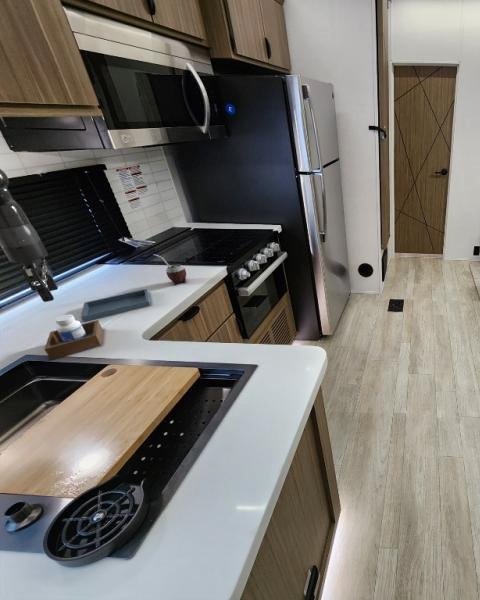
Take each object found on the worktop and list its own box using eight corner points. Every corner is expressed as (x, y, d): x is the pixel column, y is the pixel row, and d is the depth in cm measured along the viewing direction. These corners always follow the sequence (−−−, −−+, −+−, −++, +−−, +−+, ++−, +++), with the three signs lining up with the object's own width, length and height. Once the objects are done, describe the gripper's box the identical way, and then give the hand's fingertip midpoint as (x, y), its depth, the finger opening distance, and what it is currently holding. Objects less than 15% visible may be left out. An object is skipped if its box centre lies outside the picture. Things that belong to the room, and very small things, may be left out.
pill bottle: (62, 347, 102) (46, 321, 98) (81, 338, 107) (66, 312, 102) (76, 350, 101) (60, 323, 97) (94, 340, 106) (80, 314, 101)
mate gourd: (192, 280, 148) (182, 248, 141) (180, 288, 141) (168, 254, 134) (177, 279, 149) (166, 247, 142) (164, 287, 142) (152, 254, 135)
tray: (84, 323, 116) (80, 317, 115) (87, 308, 126) (84, 302, 124) (151, 306, 126) (148, 300, 125) (148, 294, 136) (146, 288, 135)
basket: (51, 361, 97) (44, 349, 95) (57, 343, 105) (50, 331, 103) (102, 347, 103) (95, 335, 101) (103, 331, 111) (97, 319, 109)
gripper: (7, 238, 91) (38, 290, 99) (-7, 251, 81) (28, 308, 89) (44, 233, 95) (71, 283, 103) (35, 245, 85) (65, 300, 93)
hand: (51, 295), depth 96 cm, fingers open, 8 cm apart
